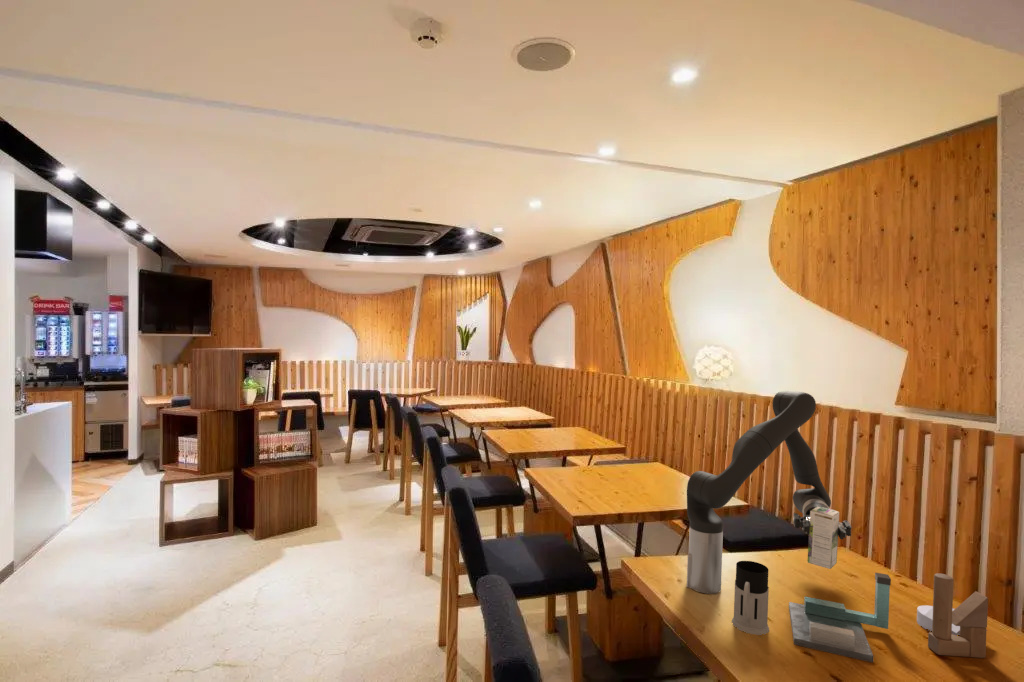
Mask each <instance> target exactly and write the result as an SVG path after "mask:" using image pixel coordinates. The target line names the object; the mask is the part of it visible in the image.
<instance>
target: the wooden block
mask: <svg viewBox="0 0 1024 682" xmlns="http://www.w3.org/2000/svg"><path fill="white" fill-rule="evenodd" d="M932 593H933V595H932V596H933V598H932V602H933V603H932V606H933V621H932V632H928V634H927V636H928V639H927V647H928V648H929V649H931V650H932V651H933V652H934V653H935V654H936V655H937V656H938V655H939V656H951V657H967V658H979V659H986V656H987V655H986V653H987V631H988V630H987V627H988V613H989V612H988V611H989V610H988V609H989V608H988V607H989V605H988V604H989V598H988V597H987V596H986V595H983V594H982V593H981V592H978V591H974V592H973V593H972V594H971V595H970V596H968V597H967V598H966V599H965V600H963V601H962V602H961V603H960V604H959V605H958V606H957V607H956V608H954V609H955V610H953V611H952V608H953V607H954V606H953V605H954V604H953V603H954V578H953V576H951V575H948V574H945V573H934V575H933V592H932ZM952 624H954V625H955V626H960V636H956V635H953V634H952Z"/></svg>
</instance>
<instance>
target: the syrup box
mask: <svg viewBox="0 0 1024 682" xmlns="http://www.w3.org/2000/svg"><path fill="white" fill-rule="evenodd" d="M839 522H840V512H839V511H837V510H835V509H831V508H830V509H828V508H824V507H816V508H814V509H813V510H811V511H810V525H809V526H810V532H809V534H808V545H807V547H808V548H807V560H806V561H807V563H808V564H810V565H815V566H818V567H821V568H825V569H827V570H831V569H832V568H834V566H835V565H836V564H837V561H838V560H837V559H838V544H839V536H838V528H839Z"/></svg>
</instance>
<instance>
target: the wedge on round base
mask: <svg viewBox="0 0 1024 682" xmlns="http://www.w3.org/2000/svg"><path fill="white" fill-rule="evenodd" d="M955 609H956V608H952V611H953V610H955ZM932 621H933V605H919V606H917V608H916V623H917V625H919V626H920V627H921V626H922V629H924V630H926V629H928V630H927V631H929V630H930V631H929V632H931V631H932ZM952 634H953V635H956V636H957V635H960V626H955V625H954V624H952Z"/></svg>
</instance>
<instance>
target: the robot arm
mask: <svg viewBox="0 0 1024 682" xmlns="http://www.w3.org/2000/svg"><path fill="white" fill-rule="evenodd" d="M816 403H817V402H816V400H815V398H814V396H813V395H811V394H810V393H807V392H803V391H789V390H782V391H779V392H777V393H776V394H774V397H773V399H772V410H773V411H772V412H773V413H774V417H773V418H770V419H767V420H766V421H763V422H761V423H759V424H755V425H754V426H752V427H750V428H749V429H747V430H746V431H745V433H743V435H741V436H740V437H739V438H738V439H737V441H736V442H735V443H734V446H733V447H732V448H733V449H732V455H731V462H730V463H729V465H728V466H727V467H726V468H725V469H724V470H723V471H722V472H721V473H719V474H717V475H716V474H713V473H710V472H707V471H702V470H697V471H694V472H693V473H692V474H691V475H690V477H689V478H688V481H687V486H686V514H687V517H688V520H689V529H688V530H689V532H688V533H689V534H688V552H687V563H686V565H687V568H686V570H687V571H686V587H687V588H689V589H692V590H693V591H696V592H698V593H703V594H707V595H713V594H719V593H720V592H721V590H722V576H723V575H722V574H723V573H722V572H723V571H722V570H723V569H722V567H723V542H724V541H723V539H724V538H723V537H724V521H723V520H722V518H721V517H720V516H719V515H718V514H717V512H715V510H717V509H721V508H723V507H724V506H726V505H727V504H728V503H729V502H730V501H731V499H732V498H733V497H734V495H735V494H736V493H737V492H738V490H739V489H740V488H741V486H743V484H744V482H745V481H746V480H747V479H748V478H749V477H750V476H751V475H752V474H753V472H755V470H757V468H758V467H759V466H760V465H761V464H762V463H764V462H765V461H766V460H767V459H768V458H769V457H770V456H771V455H772V453H773V452H774V451H775V450H776V449H778V447H779V446H780V445H781V444H782V443H783V442H785V445H786V447H787V450H788V453H789V454H788V455H789V456H790V457H789V458H790V461H791V467H792V471H793V475H794V479H795V482H796V483H798V484H800V485H806V486H811V488H801V489H800V488H799V489H797V490H795V491H794V492H793V494H792V501H793V504H794V506H795V509H797V511H798V512H800V513H802V516H801V515H799V514H798V513H795V512H794V513H793V515H792V516H793V519H792V524H793V526H794V528H795V529H800V528H801V529H802V531H803V532H804V533H805V534H807V535H809V532H810V526H809V525H810V511H811V510H813V509H814V508H816V507H824V508H828V509H831V505H832V501H831V497H830V495H829V493H828V492H827V490H826V488H825V486H824V485H823V482H822V481H821V477H820V475H819V471H818V470H819V469H818V465H817V460H816V457H815V454H814V452H813V450H812V448H811V447H810V446H809V444H808V442H807V441H805V439H804V437H803V436H802V435H801V433H800V431H799V428H800V427H802V426H803V425H804V424H806V423H807V422H808V421H809V420H810V419H811V418H812V417H813V416H814V413H815V411H816V408H817V404H816ZM812 487H813V488H812ZM714 509H715V510H714ZM846 536H847V537H851V536H852V525H851V524H850V522H849V521H848V520H843V521H841V522H840V521H839V528H838V539H839V540H844V539H846Z"/></svg>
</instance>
